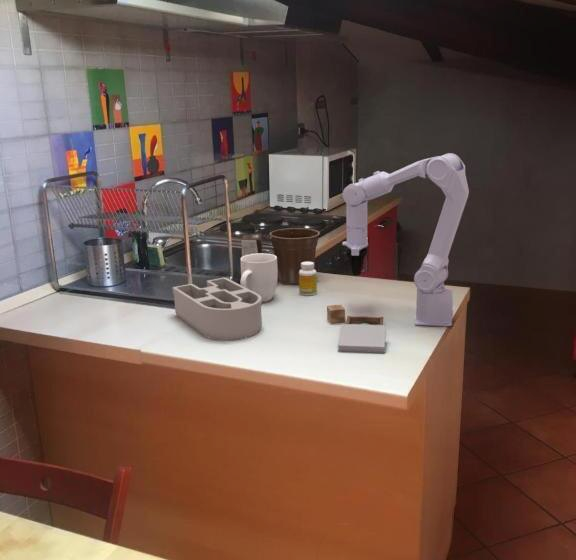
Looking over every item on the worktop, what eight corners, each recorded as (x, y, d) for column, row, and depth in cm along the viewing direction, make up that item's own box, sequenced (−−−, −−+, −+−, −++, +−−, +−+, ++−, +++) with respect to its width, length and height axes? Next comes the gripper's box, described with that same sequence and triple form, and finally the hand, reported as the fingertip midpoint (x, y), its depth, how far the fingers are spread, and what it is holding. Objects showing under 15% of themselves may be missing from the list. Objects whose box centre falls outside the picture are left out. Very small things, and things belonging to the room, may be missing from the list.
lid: (385, 330, 157) (385, 325, 156) (384, 352, 151) (384, 347, 150) (341, 329, 159) (340, 324, 158) (338, 351, 153) (338, 345, 152)
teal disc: (370, 328, 167) (370, 323, 167) (370, 332, 164) (370, 327, 164) (358, 328, 168) (358, 323, 167) (357, 332, 165) (358, 327, 164)
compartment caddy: (226, 305, 190) (225, 277, 187) (274, 332, 167) (272, 301, 164) (174, 316, 181) (172, 287, 179) (216, 347, 158) (214, 314, 156)
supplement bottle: (315, 296, 194) (314, 265, 192) (298, 295, 195) (297, 265, 193) (318, 290, 199) (317, 260, 197) (301, 290, 200) (300, 260, 198)
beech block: (341, 318, 175) (341, 304, 174) (345, 323, 171) (345, 309, 170) (327, 319, 174) (326, 305, 173) (330, 324, 171) (330, 310, 170)
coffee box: (263, 288, 204) (260, 239, 199) (242, 289, 204) (240, 239, 199) (264, 280, 212) (262, 233, 208) (245, 280, 213) (242, 233, 208)
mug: (259, 311, 183) (257, 267, 179) (227, 305, 188) (225, 263, 184) (285, 296, 195) (283, 255, 191) (254, 291, 200) (253, 251, 197)
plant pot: (318, 272, 220) (317, 226, 215) (322, 286, 204) (321, 237, 199) (271, 274, 219) (269, 228, 215) (271, 288, 204) (269, 239, 199)
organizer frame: (383, 323, 170) (383, 316, 169) (382, 343, 157) (382, 335, 156) (347, 322, 171) (347, 315, 171) (343, 341, 158) (343, 334, 158)
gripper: (344, 221, 182) (344, 267, 186) (339, 232, 168) (340, 281, 172) (369, 221, 181) (369, 267, 185) (366, 232, 167) (366, 281, 171)
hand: (356, 274), depth 178 cm, fingers closed
